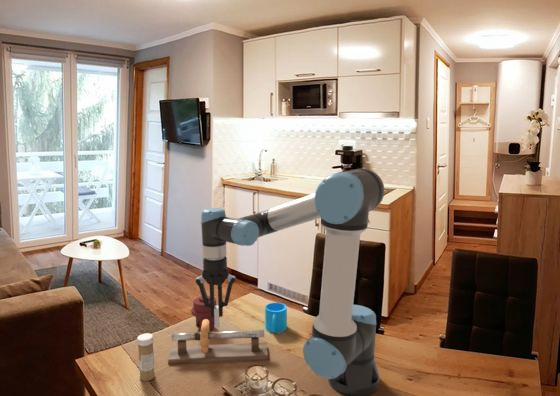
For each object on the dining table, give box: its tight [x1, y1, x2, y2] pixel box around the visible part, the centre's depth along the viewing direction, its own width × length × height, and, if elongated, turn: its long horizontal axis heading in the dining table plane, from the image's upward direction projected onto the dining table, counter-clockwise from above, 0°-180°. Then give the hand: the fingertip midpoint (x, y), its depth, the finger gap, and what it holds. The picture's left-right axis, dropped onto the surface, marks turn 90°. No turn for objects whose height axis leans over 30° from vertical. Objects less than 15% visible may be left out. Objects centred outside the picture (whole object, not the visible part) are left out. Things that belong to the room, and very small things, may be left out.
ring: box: [200, 319, 210, 354], centre depth 143 cm, size 8×2×8 cm, turn 5°
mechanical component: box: [191, 295, 217, 332], centre depth 161 cm, size 12×10×10 cm
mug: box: [264, 302, 288, 334], centre depth 161 cm, size 12×8×8 cm
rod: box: [171, 329, 265, 342], centre depth 143 cm, size 30×2×2 cm, turn 95°
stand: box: [167, 338, 269, 365], centre depth 144 cm, size 8×32×6 cm, turn 95°
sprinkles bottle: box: [136, 332, 156, 382], centre depth 131 cm, size 5×5×13 cm
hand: (217, 325), depth 142 cm, fingers closed
